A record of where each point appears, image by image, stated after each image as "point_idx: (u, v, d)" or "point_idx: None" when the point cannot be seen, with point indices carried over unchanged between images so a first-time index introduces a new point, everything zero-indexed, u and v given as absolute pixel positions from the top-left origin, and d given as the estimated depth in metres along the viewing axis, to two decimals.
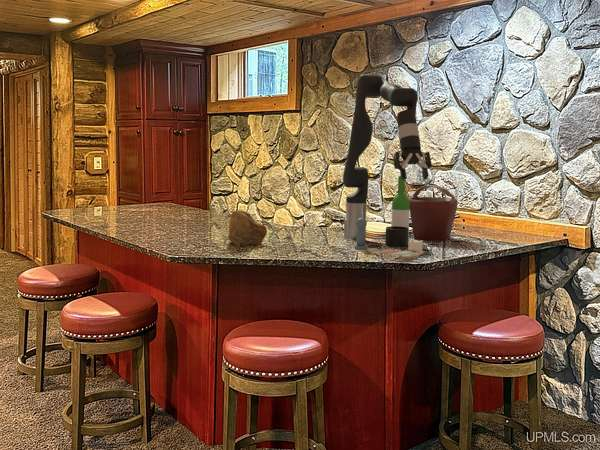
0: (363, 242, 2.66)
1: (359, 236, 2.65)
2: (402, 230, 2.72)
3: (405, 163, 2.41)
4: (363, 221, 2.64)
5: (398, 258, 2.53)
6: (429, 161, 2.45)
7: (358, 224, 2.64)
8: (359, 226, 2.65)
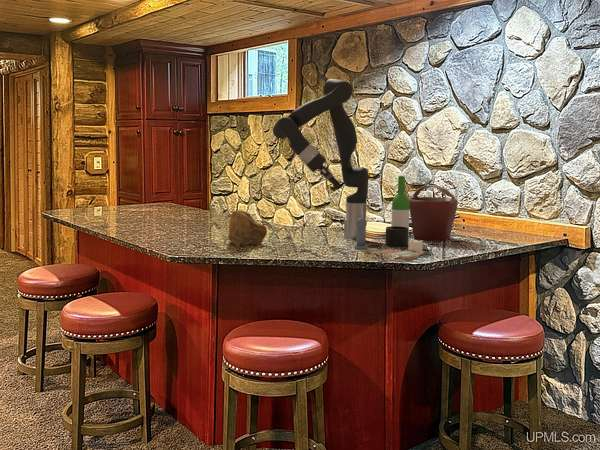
0: (363, 242, 2.66)
1: (359, 236, 2.65)
2: (402, 230, 2.72)
3: None
4: (363, 221, 2.64)
5: (398, 258, 2.53)
6: (326, 178, 2.57)
7: (358, 224, 2.64)
8: (359, 226, 2.65)
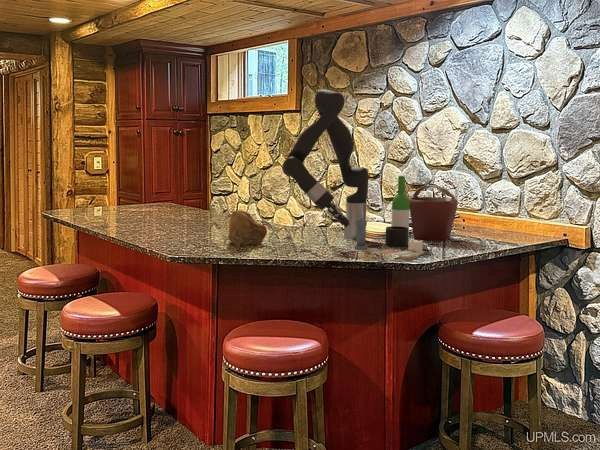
0: (363, 242, 2.66)
1: (359, 236, 2.65)
2: (402, 230, 2.72)
3: None
4: (363, 221, 2.64)
5: (398, 258, 2.53)
6: (334, 216, 2.60)
7: (358, 224, 2.64)
8: (359, 226, 2.65)
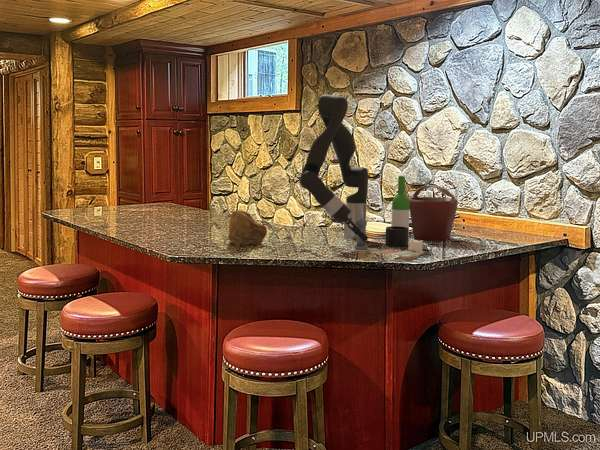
0: (363, 242, 2.66)
1: None
2: (402, 230, 2.72)
3: None
4: (363, 221, 2.64)
5: (398, 258, 2.53)
6: (353, 231, 2.62)
7: (358, 224, 2.64)
8: (359, 226, 2.65)
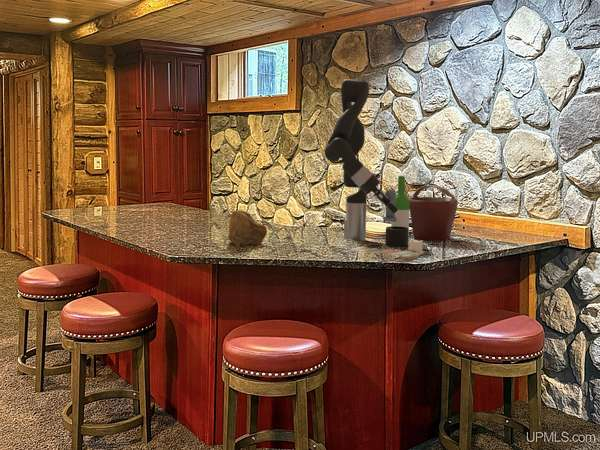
0: (392, 214, 2.57)
1: None
2: (402, 230, 2.72)
3: None
4: (393, 192, 2.56)
5: (398, 258, 2.53)
6: (382, 202, 2.53)
7: (387, 195, 2.56)
8: (388, 197, 2.56)
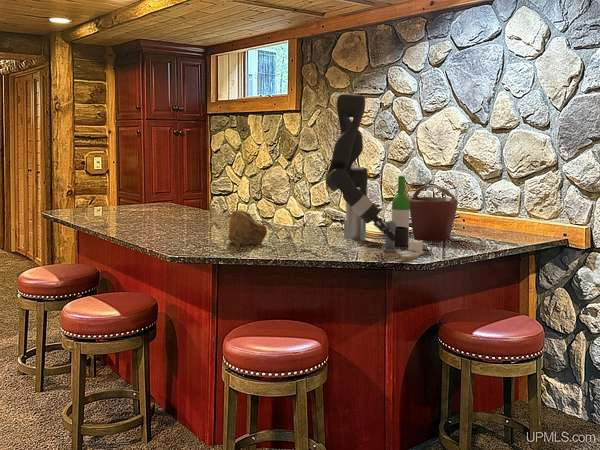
0: (392, 245, 2.59)
1: (388, 239, 2.58)
2: (402, 230, 2.72)
3: None
4: (392, 224, 2.57)
5: (398, 258, 2.53)
6: (381, 230, 2.53)
7: None
8: None
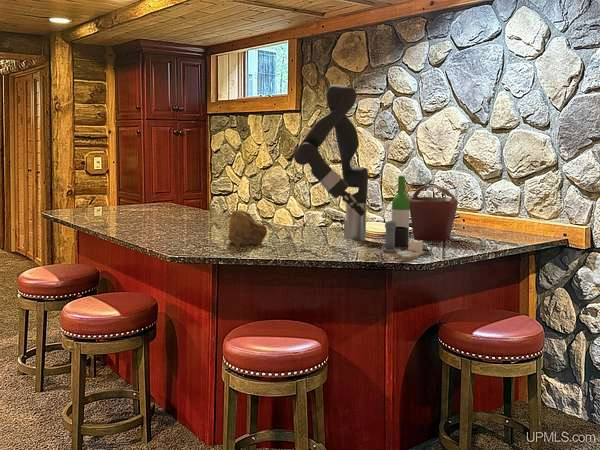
0: (392, 245, 2.59)
1: (388, 239, 2.58)
2: (402, 230, 2.72)
3: None
4: (392, 224, 2.57)
5: (398, 258, 2.53)
6: (349, 205, 2.52)
7: (387, 227, 2.57)
8: (388, 229, 2.58)
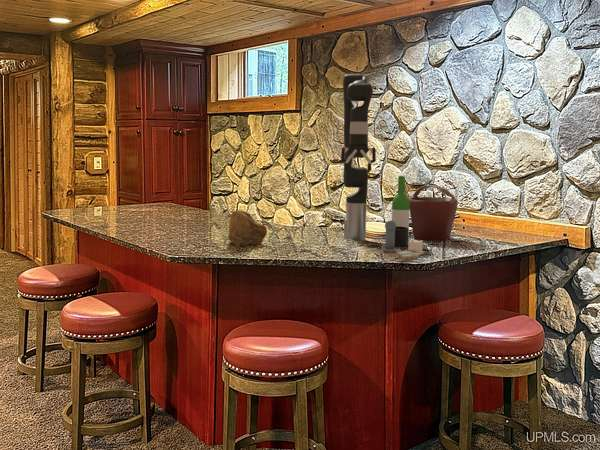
0: (392, 245, 2.59)
1: (388, 239, 2.58)
2: (402, 230, 2.72)
3: (349, 158, 2.69)
4: (392, 224, 2.57)
5: (398, 258, 2.53)
6: (373, 157, 2.69)
7: (387, 227, 2.57)
8: (388, 229, 2.58)
